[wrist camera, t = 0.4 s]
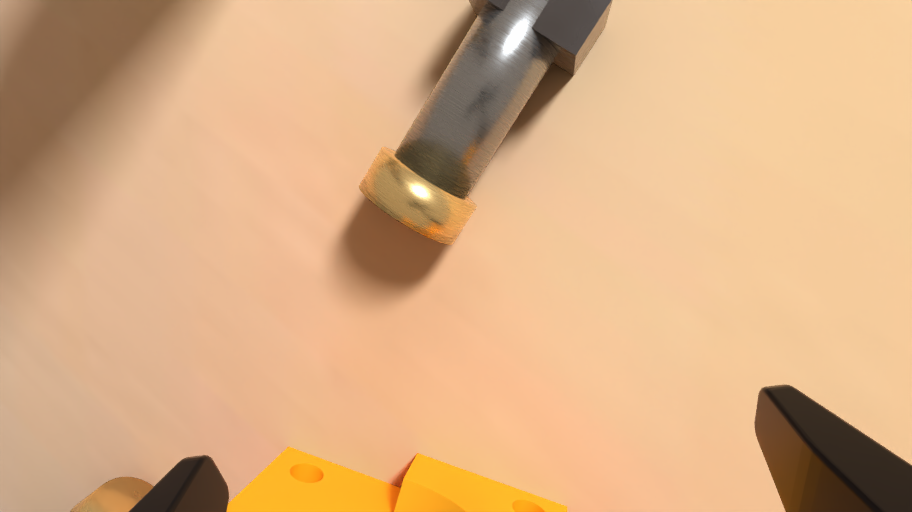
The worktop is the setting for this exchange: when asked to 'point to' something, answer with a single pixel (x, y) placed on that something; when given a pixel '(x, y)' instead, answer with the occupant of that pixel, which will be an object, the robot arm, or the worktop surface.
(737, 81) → the worktop surface
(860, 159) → the worktop surface
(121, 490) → the shaft
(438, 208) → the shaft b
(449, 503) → the pipe clamp
